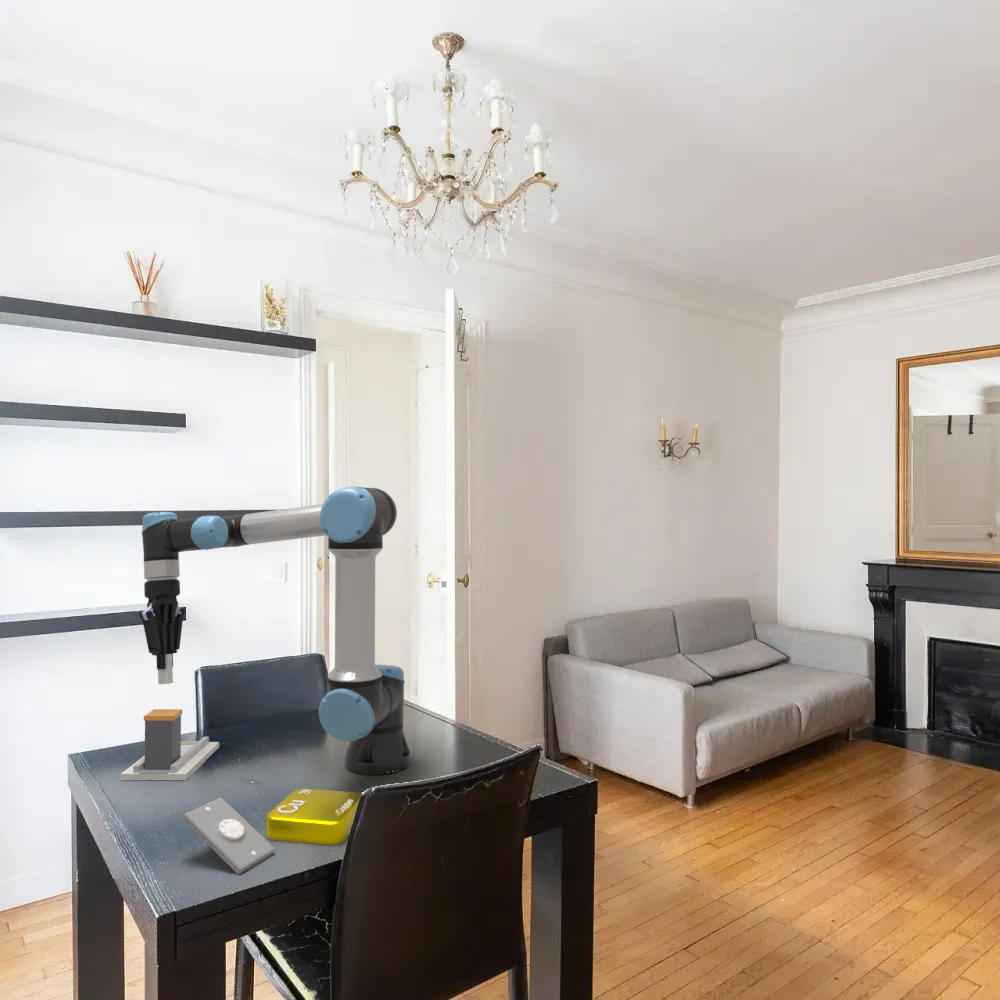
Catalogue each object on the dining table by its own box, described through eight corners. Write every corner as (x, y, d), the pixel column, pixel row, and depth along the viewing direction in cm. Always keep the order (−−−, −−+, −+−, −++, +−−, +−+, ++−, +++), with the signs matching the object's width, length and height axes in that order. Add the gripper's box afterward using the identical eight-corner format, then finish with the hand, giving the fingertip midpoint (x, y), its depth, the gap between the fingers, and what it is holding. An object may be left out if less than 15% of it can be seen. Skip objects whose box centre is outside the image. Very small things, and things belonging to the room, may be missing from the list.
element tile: (340, 848, 137) (340, 821, 137) (262, 840, 139) (262, 814, 139) (368, 814, 152) (368, 790, 152) (297, 808, 154) (297, 784, 154)
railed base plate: (185, 780, 167) (186, 766, 167) (120, 780, 166) (121, 766, 166) (219, 748, 189) (219, 735, 189) (161, 747, 188) (162, 735, 188)
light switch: (243, 865, 125) (185, 809, 131) (229, 893, 127) (173, 836, 132) (278, 844, 133) (222, 792, 138) (264, 870, 134) (210, 818, 140)
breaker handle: (172, 769, 169) (173, 716, 169) (143, 769, 169) (143, 716, 169) (181, 760, 175) (182, 709, 175) (153, 760, 174) (153, 709, 174)
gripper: (167, 580, 183) (170, 680, 181) (127, 581, 171) (131, 688, 168) (194, 577, 181) (198, 678, 179) (156, 578, 169) (160, 687, 166)
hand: (165, 683), depth 173 cm, fingers closed
